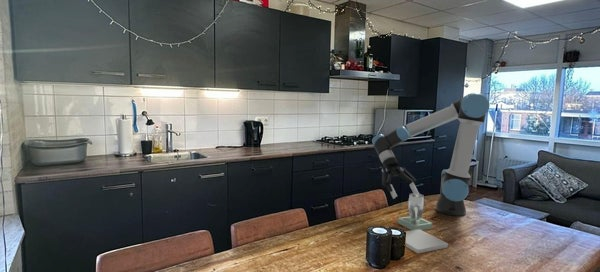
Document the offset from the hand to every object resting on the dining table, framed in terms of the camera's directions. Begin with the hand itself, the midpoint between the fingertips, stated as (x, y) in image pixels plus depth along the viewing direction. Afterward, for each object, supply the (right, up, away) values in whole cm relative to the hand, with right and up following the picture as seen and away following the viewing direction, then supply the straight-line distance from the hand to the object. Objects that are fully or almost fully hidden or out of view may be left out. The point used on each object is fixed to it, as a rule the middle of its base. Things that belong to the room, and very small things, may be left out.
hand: (406, 196), depth 156 cm
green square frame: (+3, -14, -4) cm, 14 cm away
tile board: (-2, -15, -22) cm, 27 cm away
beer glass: (+3, -14, -3) cm, 14 cm away
